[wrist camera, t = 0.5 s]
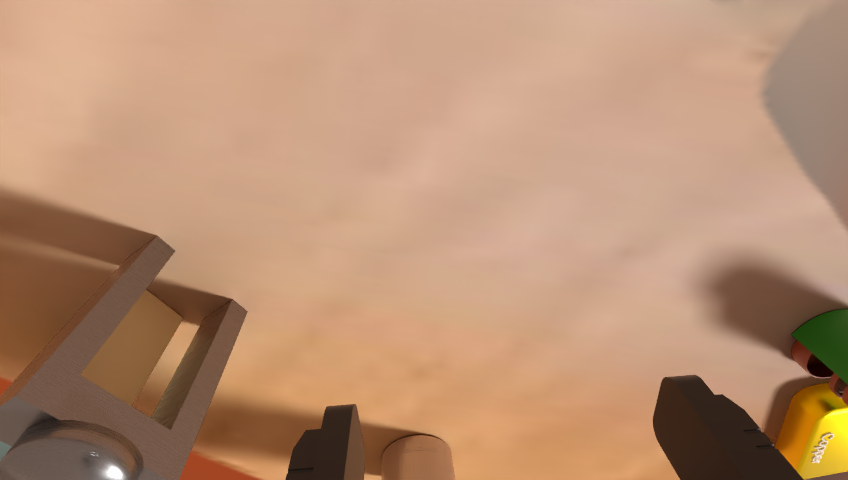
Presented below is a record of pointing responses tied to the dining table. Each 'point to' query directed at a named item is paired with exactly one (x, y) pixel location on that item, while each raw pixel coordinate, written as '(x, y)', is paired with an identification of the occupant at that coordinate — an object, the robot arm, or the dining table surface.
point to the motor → (825, 349)
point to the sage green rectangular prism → (130, 350)
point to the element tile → (815, 432)
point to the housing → (100, 410)
